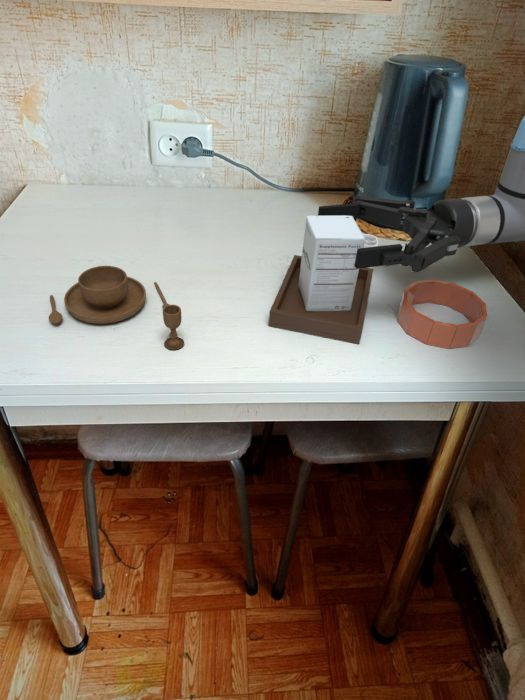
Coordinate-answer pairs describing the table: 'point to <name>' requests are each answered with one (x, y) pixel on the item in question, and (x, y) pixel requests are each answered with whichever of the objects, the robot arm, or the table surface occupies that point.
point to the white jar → (370, 241)
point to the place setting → (113, 301)
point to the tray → (326, 324)
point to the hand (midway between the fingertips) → (336, 235)
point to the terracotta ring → (436, 330)
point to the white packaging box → (329, 262)
